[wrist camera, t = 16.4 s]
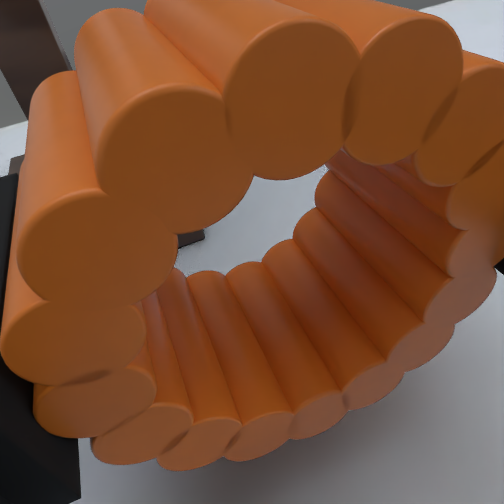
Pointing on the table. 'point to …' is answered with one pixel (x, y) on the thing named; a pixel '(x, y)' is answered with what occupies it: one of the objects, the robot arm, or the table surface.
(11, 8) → the stand
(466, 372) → the table surface
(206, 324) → the tape roll
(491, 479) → the table surface
